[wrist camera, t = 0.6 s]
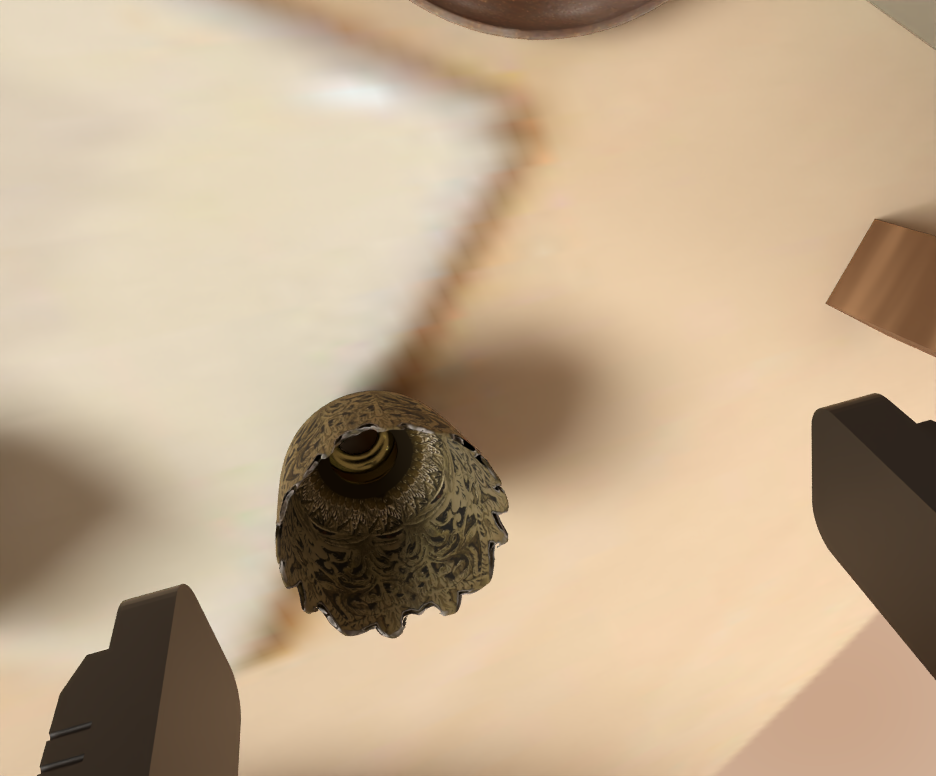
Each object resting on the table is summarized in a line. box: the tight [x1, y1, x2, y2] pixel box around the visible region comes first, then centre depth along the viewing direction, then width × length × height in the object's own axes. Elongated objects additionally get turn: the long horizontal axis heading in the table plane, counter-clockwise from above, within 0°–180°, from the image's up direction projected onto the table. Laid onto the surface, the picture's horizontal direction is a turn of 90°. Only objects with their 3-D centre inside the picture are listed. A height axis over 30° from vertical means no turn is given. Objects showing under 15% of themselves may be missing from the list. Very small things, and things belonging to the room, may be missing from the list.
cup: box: [275, 391, 509, 638], centre depth 32 cm, size 8×7×8 cm
